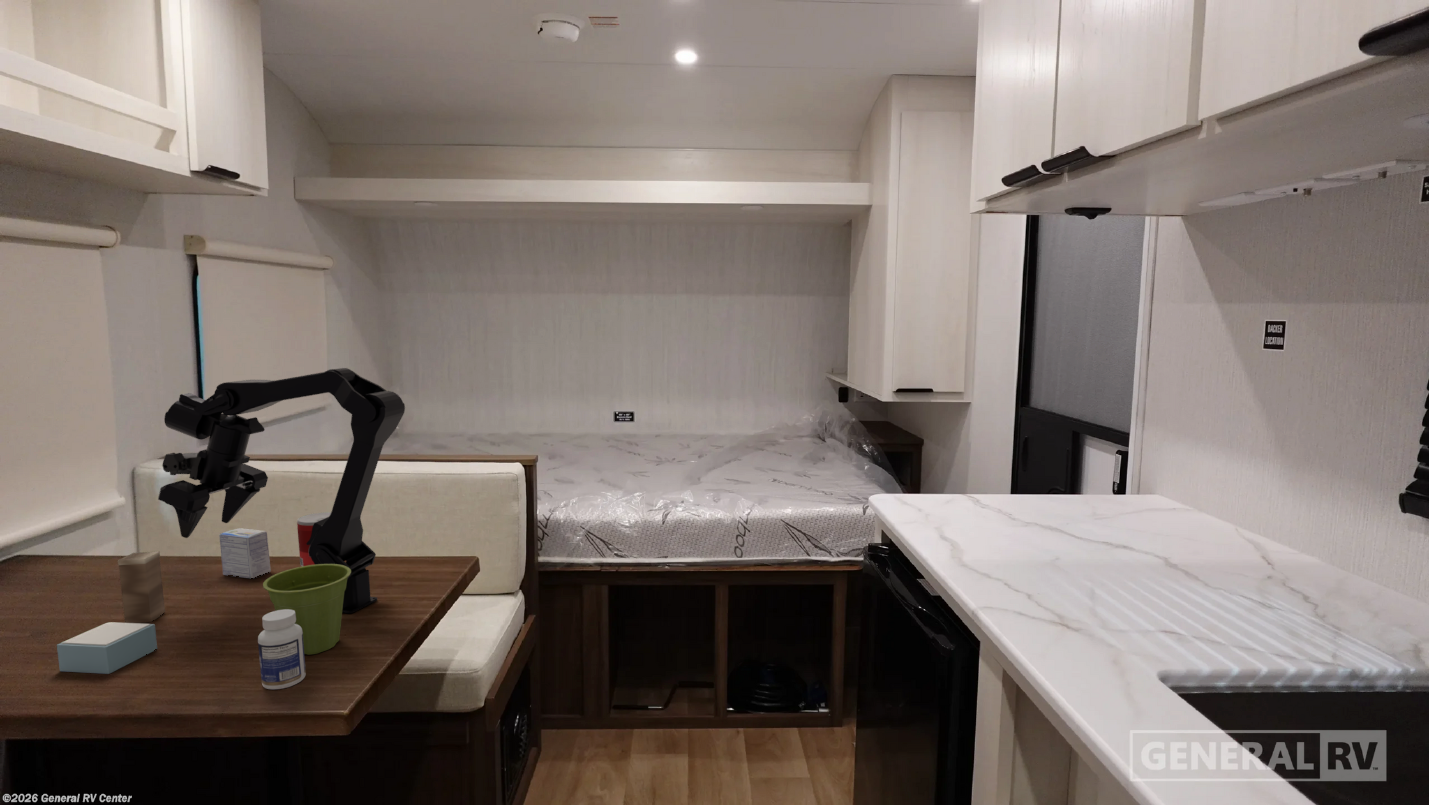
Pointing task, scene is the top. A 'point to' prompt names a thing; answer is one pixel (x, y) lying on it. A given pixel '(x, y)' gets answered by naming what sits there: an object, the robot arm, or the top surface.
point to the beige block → (141, 587)
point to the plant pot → (312, 601)
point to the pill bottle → (281, 650)
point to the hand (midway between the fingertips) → (205, 529)
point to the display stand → (106, 647)
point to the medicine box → (245, 553)
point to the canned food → (307, 535)
